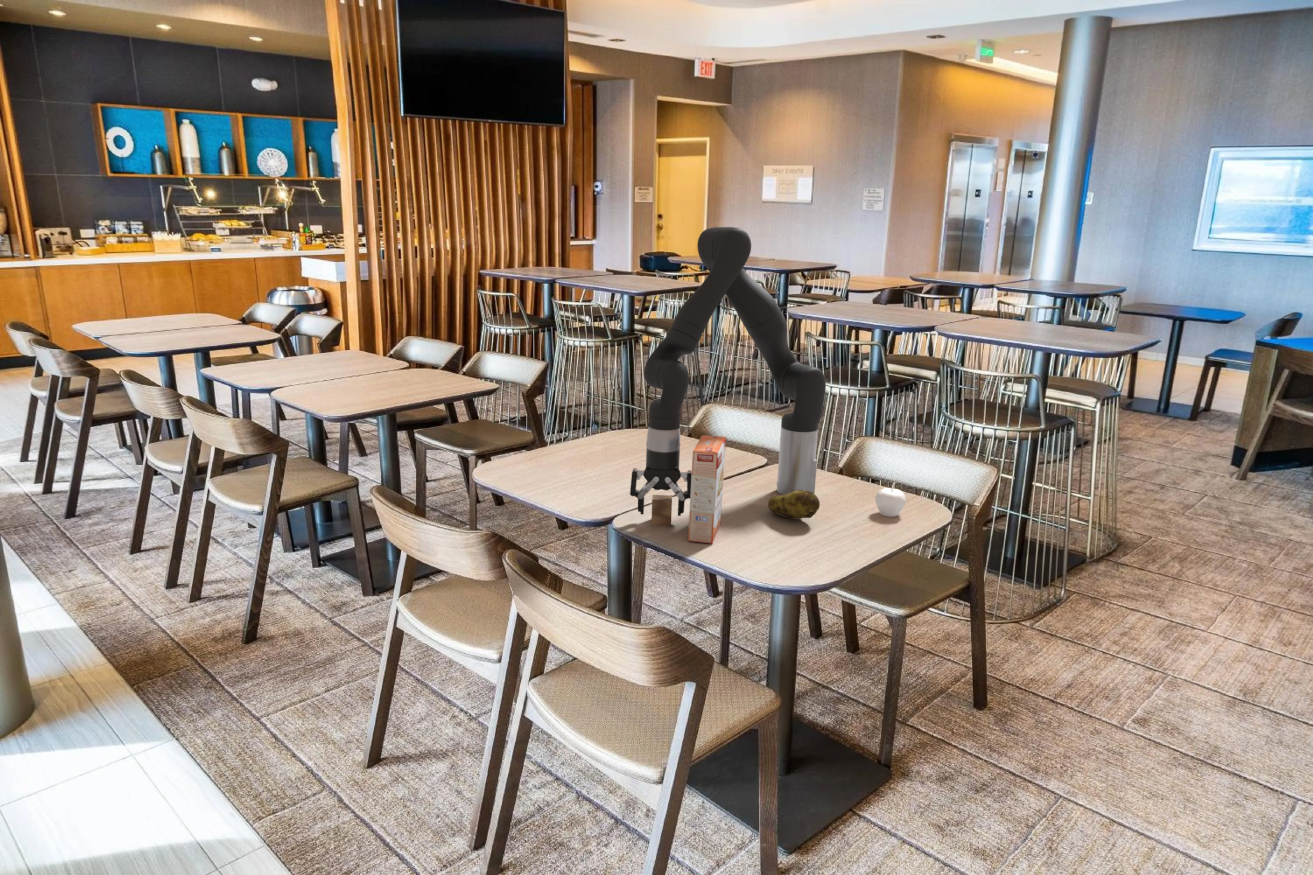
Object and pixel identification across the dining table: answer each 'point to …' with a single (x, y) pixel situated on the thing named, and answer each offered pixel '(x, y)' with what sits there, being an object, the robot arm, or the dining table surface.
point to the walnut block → (661, 510)
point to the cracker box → (706, 488)
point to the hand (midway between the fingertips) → (660, 514)
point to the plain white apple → (890, 501)
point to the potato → (795, 504)
